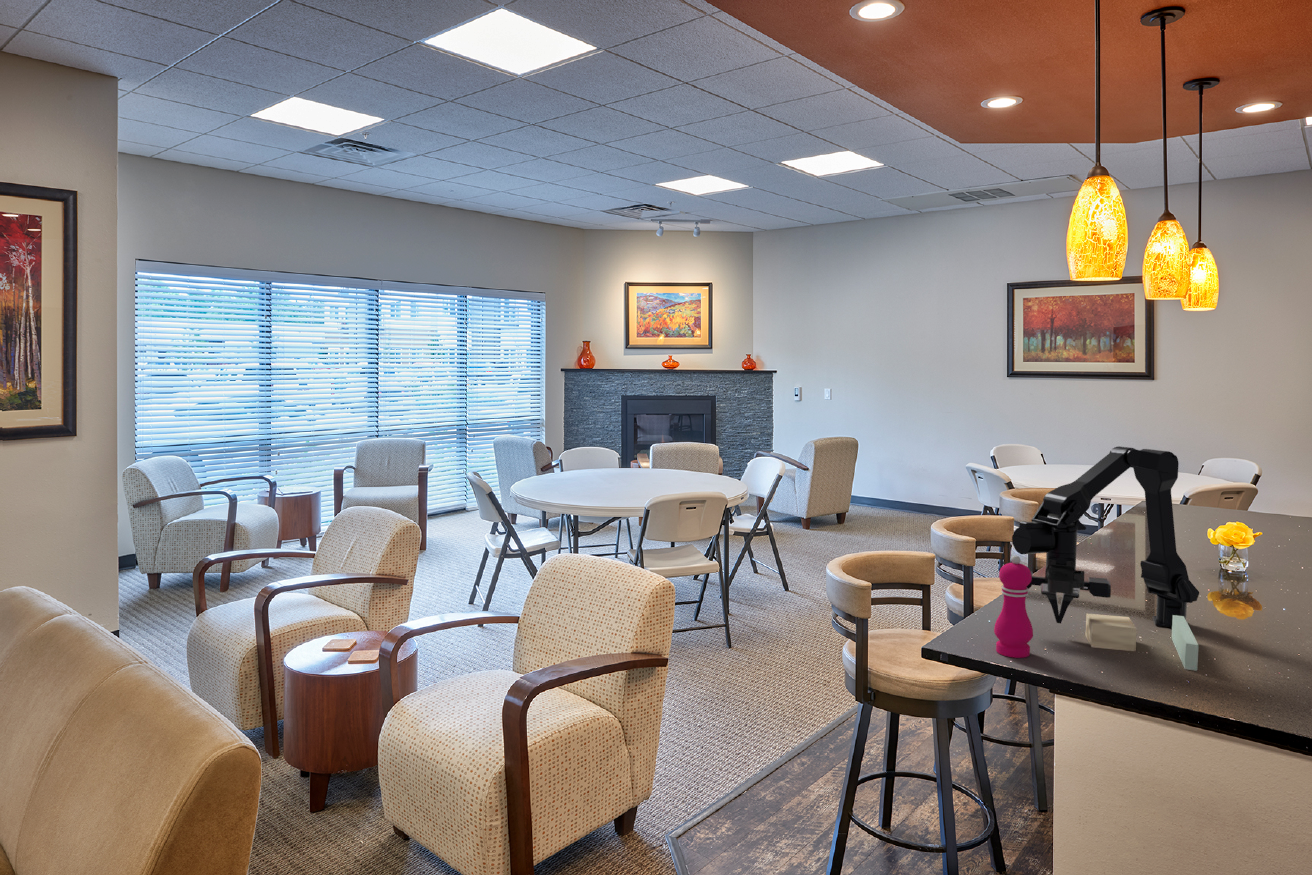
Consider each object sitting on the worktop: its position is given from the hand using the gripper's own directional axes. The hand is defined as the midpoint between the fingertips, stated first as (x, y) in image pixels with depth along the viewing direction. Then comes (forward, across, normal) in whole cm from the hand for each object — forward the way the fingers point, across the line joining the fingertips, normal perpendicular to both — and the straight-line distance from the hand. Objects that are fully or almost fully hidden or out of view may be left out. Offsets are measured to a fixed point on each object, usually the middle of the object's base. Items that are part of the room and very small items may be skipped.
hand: (1058, 622), depth 176 cm
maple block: (+3, +10, 0) cm, 10 cm away
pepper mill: (+3, -8, -15) cm, 18 cm away
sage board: (+3, +23, -1) cm, 23 cm away
